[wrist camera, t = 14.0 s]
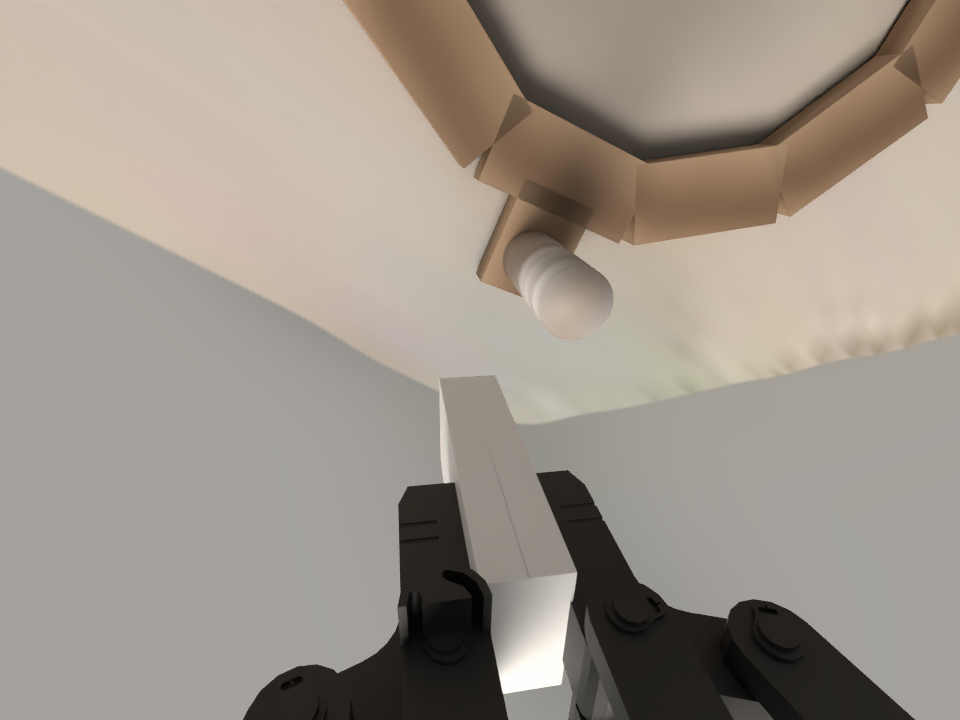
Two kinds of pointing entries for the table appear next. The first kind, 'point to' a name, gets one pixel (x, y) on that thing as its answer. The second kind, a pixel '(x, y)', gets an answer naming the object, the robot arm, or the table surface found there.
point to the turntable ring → (624, 178)
